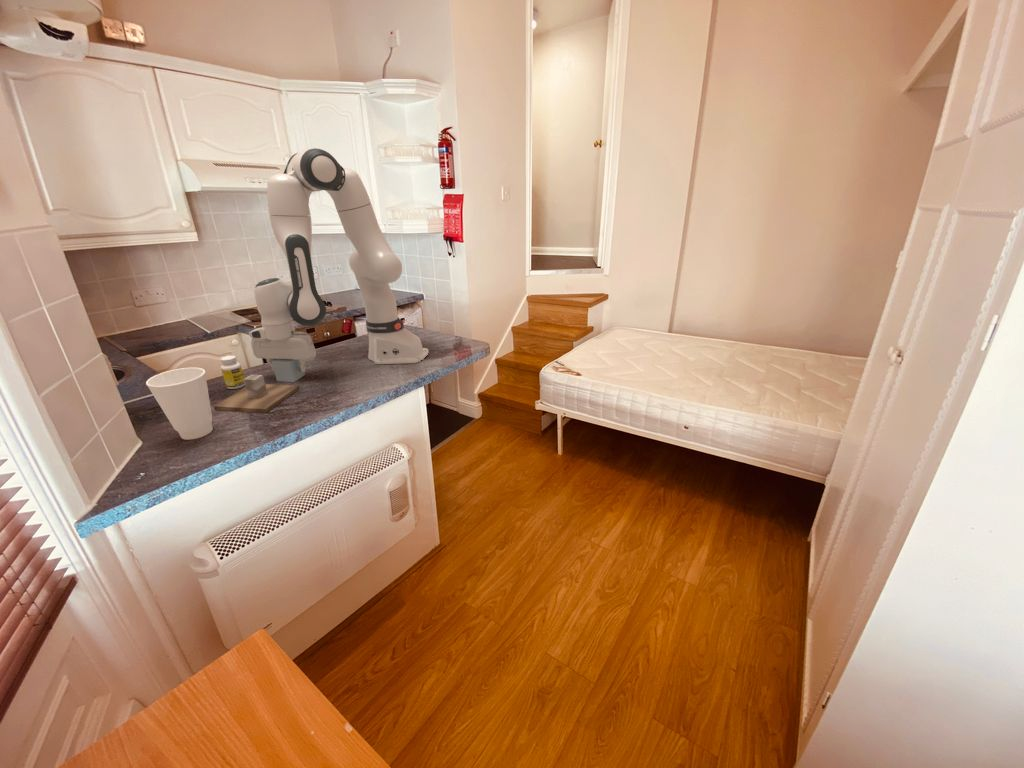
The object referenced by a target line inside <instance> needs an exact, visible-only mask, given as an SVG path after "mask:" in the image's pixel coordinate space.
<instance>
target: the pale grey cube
mask: <svg viewBox="0 0 1024 768" xmlns="http://www.w3.org/2000/svg"><path fill="white" fill-rule="evenodd" d="M272 365H273V368H274V371H273V372H274V375H275V379H276V382H282V383H283V382H285V383H295V382H297V381H298V380H300V379H302V377H304V376H305V375H306V372H305V371H304V372H299V369H298V367H299V366H301V363H300V362H299V360H291V359H274V361H272Z"/></svg>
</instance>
